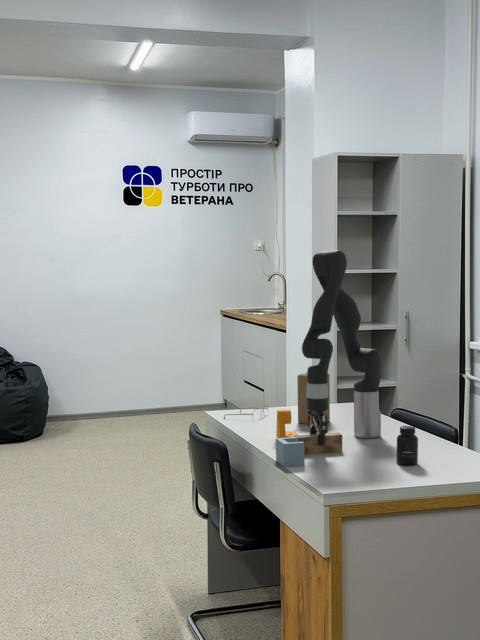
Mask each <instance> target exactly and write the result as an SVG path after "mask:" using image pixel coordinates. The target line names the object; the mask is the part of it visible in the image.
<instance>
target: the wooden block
mask: <svg viewBox="0 0 480 640" xmlns="http://www.w3.org/2000/svg"><path fill="white" fill-rule="evenodd" d="M330 389H331V388H330V374H329V373H328V410H326V411H323V413H324V416H327V423H328V422H330V420H331V419H330V417H331V413H330V412H331V411H330V407H331V406H330V405H331V403H330V401H331V399H330ZM297 423H298V424H304V425H308V410H307V372H306V373H301V374H297Z"/></svg>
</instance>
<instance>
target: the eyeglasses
mask: <svg viewBox="0 0 480 640" xmlns="http://www.w3.org/2000/svg"><path fill="white" fill-rule="evenodd" d="M242 410H253V411H252V412H251V413H242ZM256 410H260V418H259V419H262V413H263V416H264V417H266V415H265V410H269V407H268V405H265V406H264V407H257V408H256V407H255V408H254V407H252V408H251V407H249V408H244V407H242V408H240V410H239V413H236V414H235V413H229V414H227V413H225V414H224V415H223V419H225V420H226V416H252V420H253V421H254V422H255V419H254V417H253V416H254V411H256Z"/></svg>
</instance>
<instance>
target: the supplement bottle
mask: <svg viewBox="0 0 480 640" xmlns="http://www.w3.org/2000/svg"><path fill="white" fill-rule="evenodd" d="M418 462H419V438H418V436H417V435H416V427H414V426H413V425H401V426H400V427H399V434H398V435H397V437H396V463H397V464H398V465H400V466H405V467H406V466H407V467H411V466H417V465H418Z"/></svg>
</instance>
